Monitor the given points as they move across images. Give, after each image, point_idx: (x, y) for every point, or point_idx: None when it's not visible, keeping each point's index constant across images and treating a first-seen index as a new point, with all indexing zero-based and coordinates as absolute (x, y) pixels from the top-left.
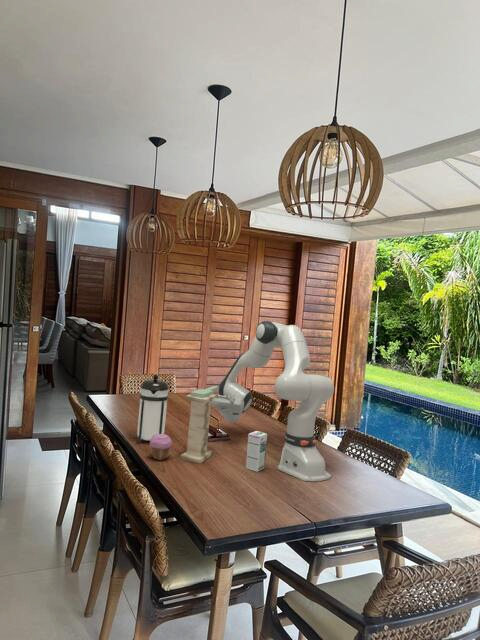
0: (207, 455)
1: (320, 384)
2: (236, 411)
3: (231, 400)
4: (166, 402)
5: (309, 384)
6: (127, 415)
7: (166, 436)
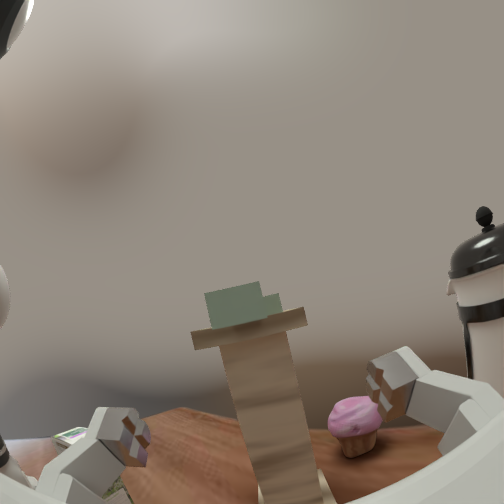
0: None
1: None
2: None
3: (93, 476)
4: (486, 333)
5: None
6: None
7: (338, 407)
